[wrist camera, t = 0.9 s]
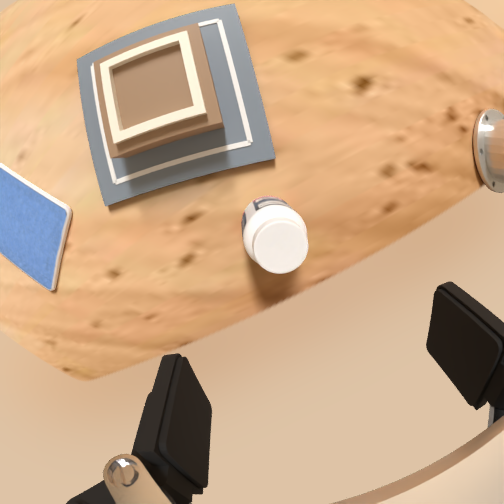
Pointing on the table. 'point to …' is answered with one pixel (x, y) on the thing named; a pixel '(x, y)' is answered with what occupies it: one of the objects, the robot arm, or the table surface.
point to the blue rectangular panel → (32, 228)
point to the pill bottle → (274, 234)
